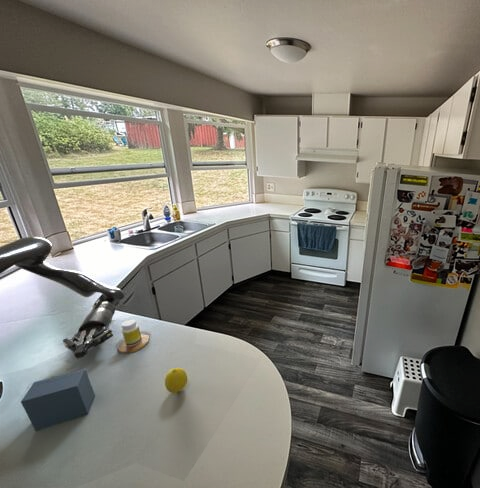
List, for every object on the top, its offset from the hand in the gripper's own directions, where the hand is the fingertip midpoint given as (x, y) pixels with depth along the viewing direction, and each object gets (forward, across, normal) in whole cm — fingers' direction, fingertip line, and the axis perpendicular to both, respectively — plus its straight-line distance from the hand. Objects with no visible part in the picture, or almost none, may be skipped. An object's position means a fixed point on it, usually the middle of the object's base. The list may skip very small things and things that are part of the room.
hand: (79, 355), depth 75 cm
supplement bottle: (-9, +11, +6) cm, 16 cm away
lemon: (+19, +26, +7) cm, 33 cm away
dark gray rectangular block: (+14, 0, +7) cm, 15 cm away
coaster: (-9, +11, +7) cm, 16 cm away
